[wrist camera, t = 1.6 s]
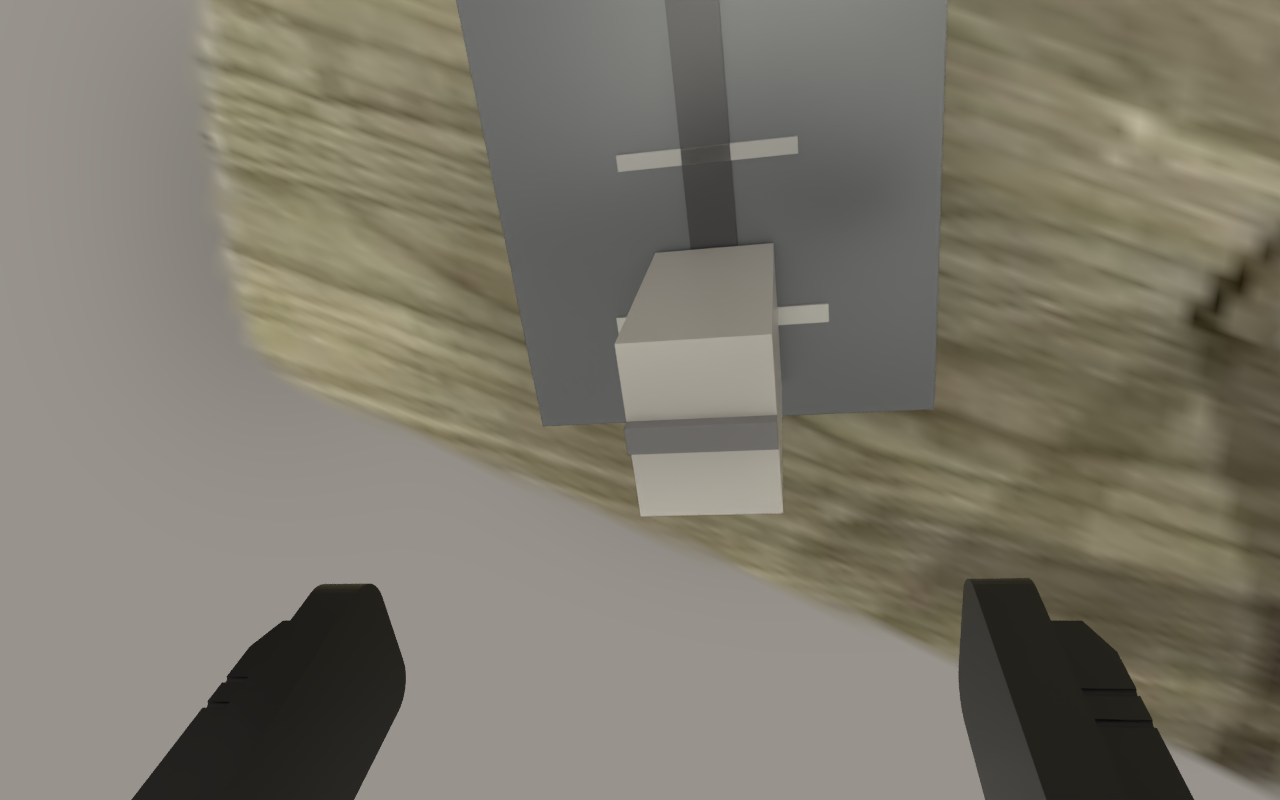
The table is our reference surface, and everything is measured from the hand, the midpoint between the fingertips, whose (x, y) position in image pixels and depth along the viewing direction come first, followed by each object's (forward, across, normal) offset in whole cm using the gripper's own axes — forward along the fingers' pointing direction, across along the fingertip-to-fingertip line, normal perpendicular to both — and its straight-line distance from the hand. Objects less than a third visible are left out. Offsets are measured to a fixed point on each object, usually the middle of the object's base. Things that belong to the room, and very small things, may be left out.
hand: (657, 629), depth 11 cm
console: (+15, 0, -6) cm, 16 cm away
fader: (+12, 0, 0) cm, 12 cm away
